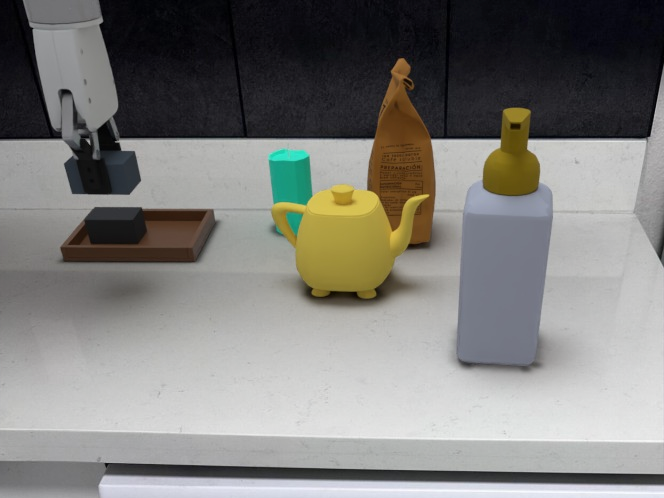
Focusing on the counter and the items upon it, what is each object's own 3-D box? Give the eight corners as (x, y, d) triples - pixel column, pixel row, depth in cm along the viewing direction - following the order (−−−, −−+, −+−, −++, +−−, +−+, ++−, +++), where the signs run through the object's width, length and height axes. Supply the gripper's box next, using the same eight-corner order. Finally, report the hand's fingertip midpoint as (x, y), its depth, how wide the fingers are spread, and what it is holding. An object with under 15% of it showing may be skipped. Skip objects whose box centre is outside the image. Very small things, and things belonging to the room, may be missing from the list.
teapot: (423, 309, 99) (425, 209, 91) (268, 303, 101) (255, 204, 92) (431, 265, 109) (433, 171, 101) (289, 259, 111) (280, 166, 102)
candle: (310, 237, 117) (303, 150, 109) (271, 234, 117) (261, 148, 109) (319, 221, 121) (313, 137, 113) (281, 219, 122) (273, 136, 114)
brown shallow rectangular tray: (63, 261, 111) (59, 247, 110) (96, 221, 122) (92, 208, 120) (195, 261, 110) (192, 247, 109) (215, 222, 121) (213, 209, 120)
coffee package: (433, 218, 122) (437, 55, 107) (434, 250, 113) (439, 77, 98) (369, 217, 122) (364, 55, 107) (365, 250, 113) (359, 77, 98)
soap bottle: (454, 365, 89) (466, 123, 72) (461, 327, 96) (472, 97, 79) (534, 370, 88) (564, 126, 71) (535, 331, 95) (563, 100, 78)
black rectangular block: (90, 243, 114) (83, 219, 112) (100, 230, 118) (94, 206, 115) (138, 244, 114) (132, 219, 112) (147, 230, 118) (142, 206, 115)
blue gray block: (71, 194, 94) (63, 163, 92) (86, 180, 98) (78, 150, 95) (129, 195, 94) (122, 164, 91) (141, 180, 97) (135, 150, 95)
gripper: (57, -7, 90) (99, 162, 102) (-6, 22, 77) (50, 211, 89) (122, -6, 90) (156, 163, 102) (69, 23, 77) (115, 211, 89)
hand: (106, 183), depth 95 cm, fingers closed on blue gray block, 5 cm apart
